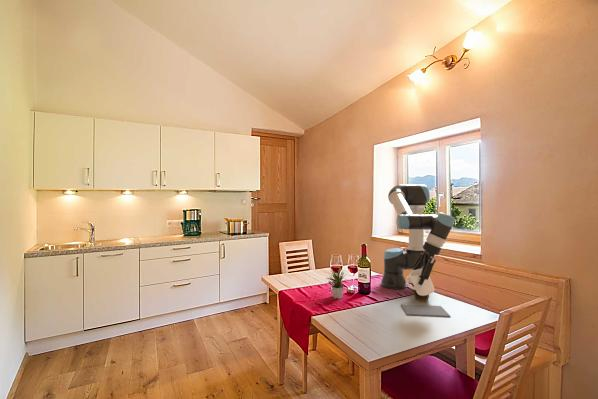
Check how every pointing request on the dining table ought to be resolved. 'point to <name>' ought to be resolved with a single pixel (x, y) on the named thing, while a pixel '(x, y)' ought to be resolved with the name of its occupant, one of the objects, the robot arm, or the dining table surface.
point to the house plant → (337, 284)
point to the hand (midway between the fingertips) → (413, 286)
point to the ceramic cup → (419, 297)
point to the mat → (424, 310)
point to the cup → (427, 285)
